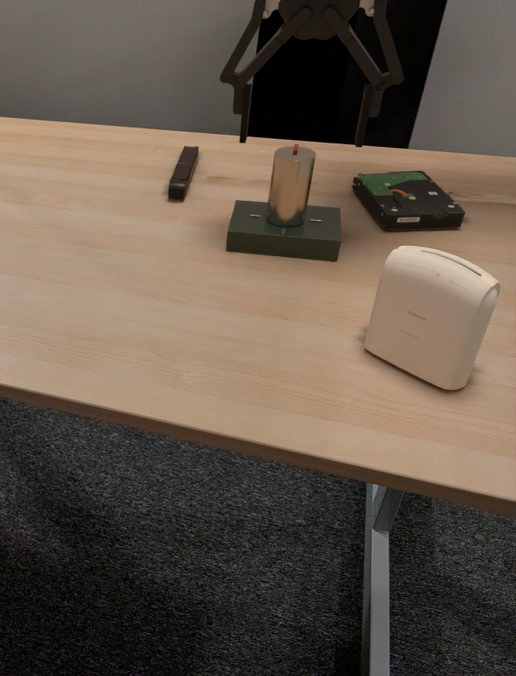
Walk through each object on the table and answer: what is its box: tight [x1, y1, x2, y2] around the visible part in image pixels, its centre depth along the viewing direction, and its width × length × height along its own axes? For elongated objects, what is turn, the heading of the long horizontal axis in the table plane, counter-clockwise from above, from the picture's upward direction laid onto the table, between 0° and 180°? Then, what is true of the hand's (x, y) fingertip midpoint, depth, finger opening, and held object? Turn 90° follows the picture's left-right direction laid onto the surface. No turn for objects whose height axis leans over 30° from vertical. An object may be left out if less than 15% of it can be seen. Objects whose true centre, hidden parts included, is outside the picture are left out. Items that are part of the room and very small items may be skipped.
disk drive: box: [351, 170, 466, 231], centre depth 94 cm, size 10×3×15 cm
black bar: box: [167, 145, 200, 201], centre depth 106 cm, size 18×3×3 cm, turn 163°
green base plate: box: [225, 199, 342, 262], centre depth 88 cm, size 14×10×3 cm
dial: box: [266, 143, 317, 227], centre depth 84 cm, size 5×5×9 cm
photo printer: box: [363, 245, 501, 391], centre depth 62 cm, size 10×4×12 cm, turn 35°
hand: (299, 141), depth 81 cm, fingers open, 13 cm apart
